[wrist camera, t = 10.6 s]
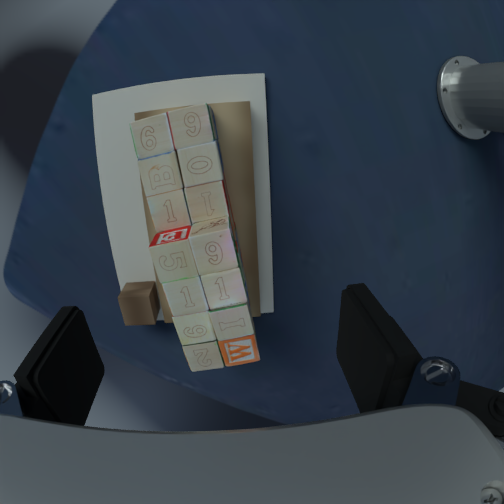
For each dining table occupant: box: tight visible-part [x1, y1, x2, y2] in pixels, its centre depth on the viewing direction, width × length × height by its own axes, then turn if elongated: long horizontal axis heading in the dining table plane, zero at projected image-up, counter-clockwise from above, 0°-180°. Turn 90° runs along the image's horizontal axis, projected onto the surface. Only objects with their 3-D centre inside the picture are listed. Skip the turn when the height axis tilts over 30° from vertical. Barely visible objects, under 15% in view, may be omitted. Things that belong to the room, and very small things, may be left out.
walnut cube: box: [118, 281, 160, 325], centre depth 38 cm, size 4×4×4 cm
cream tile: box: [92, 74, 274, 320], centre depth 37 cm, size 20×30×1 cm, turn 3°
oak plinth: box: [134, 101, 261, 323], centre depth 36 cm, size 12×25×3 cm, turn 3°
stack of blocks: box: [130, 103, 260, 372], centre depth 28 cm, size 21×6×12 cm, turn 10°
